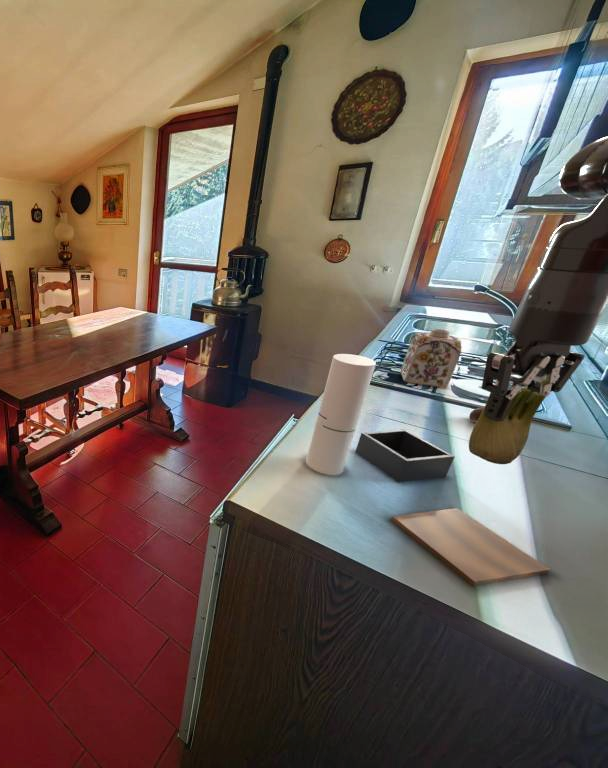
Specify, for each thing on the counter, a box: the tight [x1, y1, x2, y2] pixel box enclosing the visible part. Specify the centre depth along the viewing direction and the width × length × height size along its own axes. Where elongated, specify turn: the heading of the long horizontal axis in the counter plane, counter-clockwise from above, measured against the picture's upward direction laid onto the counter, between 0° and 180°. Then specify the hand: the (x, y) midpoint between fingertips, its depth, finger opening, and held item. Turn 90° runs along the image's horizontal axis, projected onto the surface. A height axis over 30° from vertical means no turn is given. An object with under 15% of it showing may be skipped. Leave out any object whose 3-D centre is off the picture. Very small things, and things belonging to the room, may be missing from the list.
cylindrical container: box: [305, 353, 377, 476], centre depth 81 cm, size 7×7×25 cm
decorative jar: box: [400, 328, 462, 389], centre depth 132 cm, size 12×12×18 cm
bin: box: [355, 428, 455, 483], centre depth 85 cm, size 12×12×6 cm
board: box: [390, 507, 551, 587], centre depth 64 cm, size 14×14×1 cm
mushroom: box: [468, 406, 485, 423], centre depth 104 cm, size 8×8×6 cm
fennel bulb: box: [468, 387, 546, 465], centre depth 59 cm, size 6×5×12 cm
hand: (507, 417), depth 59 cm, fingers closed on fennel bulb, 4 cm apart
